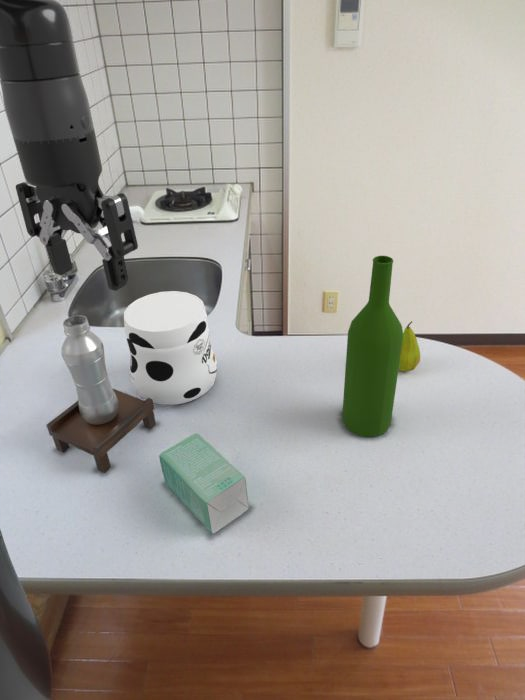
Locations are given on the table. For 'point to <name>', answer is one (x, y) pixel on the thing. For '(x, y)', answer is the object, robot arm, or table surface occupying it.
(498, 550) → the table surface
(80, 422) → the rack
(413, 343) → the fruit
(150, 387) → the milk container
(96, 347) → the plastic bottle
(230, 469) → the box
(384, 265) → the wine bottle
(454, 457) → the table surface
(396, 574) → the table surface
